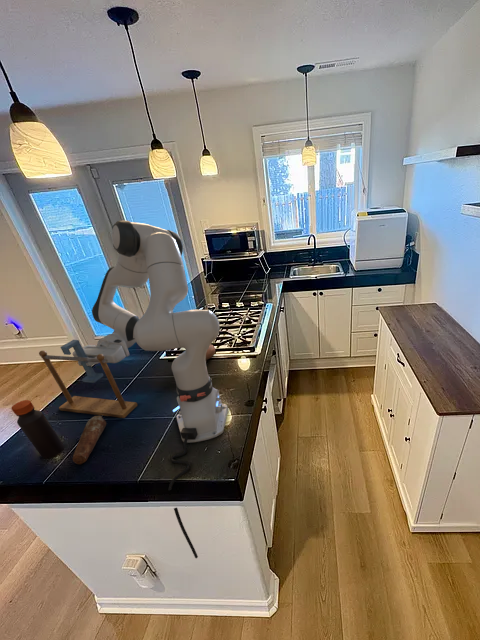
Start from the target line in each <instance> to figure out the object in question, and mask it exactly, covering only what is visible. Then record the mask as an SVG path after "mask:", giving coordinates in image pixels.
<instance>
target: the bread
mask: <svg viewBox="0 0 480 640" xmlns="http://www.w3.org/2000/svg"><path fill="white" fill-rule="evenodd" d="M106 426H107V420H105V419H104V418H103V415H94V416H92V417H91V418H90V419H89V420H87V422H86V424H85V426H84V428H83V431H82V433H81V435H80V437H79V440H78V443H77V445H76V448H75V449H74V452H73V456H72V462H73V463H75V464H77V465H82V464H85V463H86V462H87V461H88V459H89V457H90V455H91V454H92V452H93V450H94V449H95V446H96V444H97V442H98V440H99V439H100V438H101V436H102V433H103V432H104V430H105V428H106Z"/></svg>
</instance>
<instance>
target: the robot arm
mask: <svg viewBox="0 0 480 640" xmlns="http://www.w3.org/2000/svg"><path fill="white" fill-rule="evenodd" d="M110 239H111V243H112V246H113V249H114V250H115V251H116V252H117V253H118V254H117V260H116V264H115V266H111V267H109V268H108V270H107V271H106V272H105V274H104V277H103V280H102V283H101V286H100V289H99V292H98V295H97V297H96V301H95V302H94V304H93V306H92V308H91V315H92V317H93V319H94V321H95V322H97V323H99V324H101V325H103V326H106V327H108V328H110V329H112V330H113V331H112V333H108V334H107V335H105V336H103V337H102V338H100V339H99V340H97V343H96V345H94V344H88V345H84V346H82V348H83V350H84V352H85V354H86V356H87V358H97V355H98V354H103V355H104V357H105V360H106V363H107V364H117V363H119V362H121V361H123V360H124V359H125V358H127V357H129V356H130V352H129V348H131V347H132V346H134V345H135V344H137V345H138V347H140V348H141V349H142V350H144V351H146V352H163V351H169V350H176V349H185V350H184V351H183V352H182V353H180V354H179V355H177V356H176V357H175V358H174V360H173V361H172V363H171V372H172V376H173V378H174V381H175V384H176V385H175V387H176V393H177V397H176V398H175V399H176V402H177V404H178V406H177V407H175V408H174V409H172V412H173V413H175V412H177V410H179V411H178V413H177V414H176V416H175V418H176V422H177V425H178V429H179V430H178V431H179V434H180V439H181V441H182V442H183V444H182V448H183V452H180V453H176V454H173V455H171V457H170V462H171V463H172V464H178V465H181V464H182V465H183V464H184V465H186V468H185V469H183V470H181V472H179V473H177V474H176V475H175V476H174V477H173V478H172V479H171V481H170V482H169V484H168V492H170V491H172V490H173V486H174V484H175V482H176V481H177V480H178V479H179V478H181V477H182V476H184V475H185V474H186V473H187V472H189V470H190V468H191V463H190V462H189V461H187V460H177V459H175V458H180V457H183V456H185V455H186V454H187V453H188V448H187V444H188V443H200V442H203V441H207V440H212V439H214V438H216V437H218V436H220V435H222V434H223V433H224V431H225V426H226V420H227V415H228V410H229V406H228V405H227V404H225V403H222V399H221V395H220V392H219V389H217V388H215V387H213V382H212V381H213V380H212V378H211V377H210V375H209V372H208V368H207V360H206V353H207V350H208V348H209V346H210V345H212V343H213V342H214V341H216V340H217V338H218V336H219V333H220V330H221V326H220V321H219V318H218V317H217V315H216V314H215V313H214V312H213V311H211V310H210V309H197V308H196V309H188V310H182V311H175V312H174V309H175V307H176V306H177V305H178V304H179V303H180V302H182V301H184V299H185V298H186V297H187V295H188V293H189V285H188V281H187V275H186V270H185V265H184V261H183V257H182V256H183V253H184V252H183V251H184V244H183V241H182V238H181V237H180V235H179V234H178V233H177V232H174V231H173V230H170V229H164V228H161V227H158V226H154V225H151V224H148V223H141V222H136V221H135V222H133V221H129V220H117V221H116V222H115V223H114V224H113V225H112V229H111V237H110ZM148 282H149V283H148ZM146 283H148V284H149V292H150V293H149V295H150V296H149V303H148V306H147V308H146V310H145V312H144V313H143V315H142V316H141V317H140V318H139V316H138V315H136V314H134V313H133V312H131V311H129V310H128V309H125V308H123V307H122V306H120V305H118V304H117V303H115V301H114V298H115V296H116V293H117V289H118V287H123V288H127V289H135V288H141V287H142V286H145V284H146ZM72 357H78V356H77V354H76V352H75V350H74V351H72ZM77 364H78V366H79V367H83V366H82V364H81V362H80V361H77ZM86 364H87V366H92V367H93V366H94V365H98V364H100V363H99V362H86ZM173 511H174V514H175V517H176V520H177V522H178V525H179V527H180V530H181V533H182V534H183V537H184V538H185V540H186V542H187V544H188V546H189V548H190V550H191V552H192V554H193V556H194V558H195V559H198V557H199V556H198V553H197V551H196V549H195V546H194V545H193V543H192V540H191V538H190V537H189V534H188V532H187V530H186V528H185V526H184V524H183V520H182V518H181V516H180V512H179V510H178V507H174V508H173Z"/></svg>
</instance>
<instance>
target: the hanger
mask: <svg viewBox="0 0 480 640" xmlns="http://www.w3.org/2000/svg"><path fill="white" fill-rule="evenodd" d="M82 347H83V346H82V344H81V342H80V340H79V339H72V340H70V341H68V342H67V343H65V344H63V345H61V346H60V350H61V352H62V353H63V356H70V355H72V352H71V350H70V349H73V350H74V351H75V352H76V354H77V356H78V357H84V358H87V356H86V354H85V352H84V350H83V348H82ZM80 362H81V364H82V366H81V367H83V370H84V371H85V374H86V376H85V377H83V378H81V381H82V382H83V383H91V384H94V383H96V382H97V381H99V380H100V379H101V378H103V377H104V373H103V372H95V370H94V368H93V366H87V364H86V362H85V361H80Z"/></svg>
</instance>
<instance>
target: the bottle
mask: <svg viewBox="0 0 480 640" xmlns="http://www.w3.org/2000/svg"><path fill="white" fill-rule="evenodd" d="M10 410H11V411H12V412H13V414H14V415H15V416H16V417H18V419H17V420H16V423H17V425H18V426H19V428H20V429H21V431H22V432H23V433H24V435H25V437H27V439H28V440H29V442H30V443H31V444H32V446H33V447H34V448H35V450H36V451H37V453H39V455H40V456H41V458H43V459H51V458H55V457H57V456H58V455H60V454H61V453H62V452H63V451H64V449H65V444H64V443H63V441H62V440H61V438H60V437H59V435H58V434H57V432H56V431H55V430H54V428H53V426H52V425H51V424H50V422H49V421H48V419H47V418H46V416H45V415H44V413H43V411H42V410H38V409H35V406H34V405H33V403H32V401H31V400H29V399H23V400H20V401H18V402H16V403H14V404H13V405H12V406H11V408H10Z"/></svg>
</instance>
